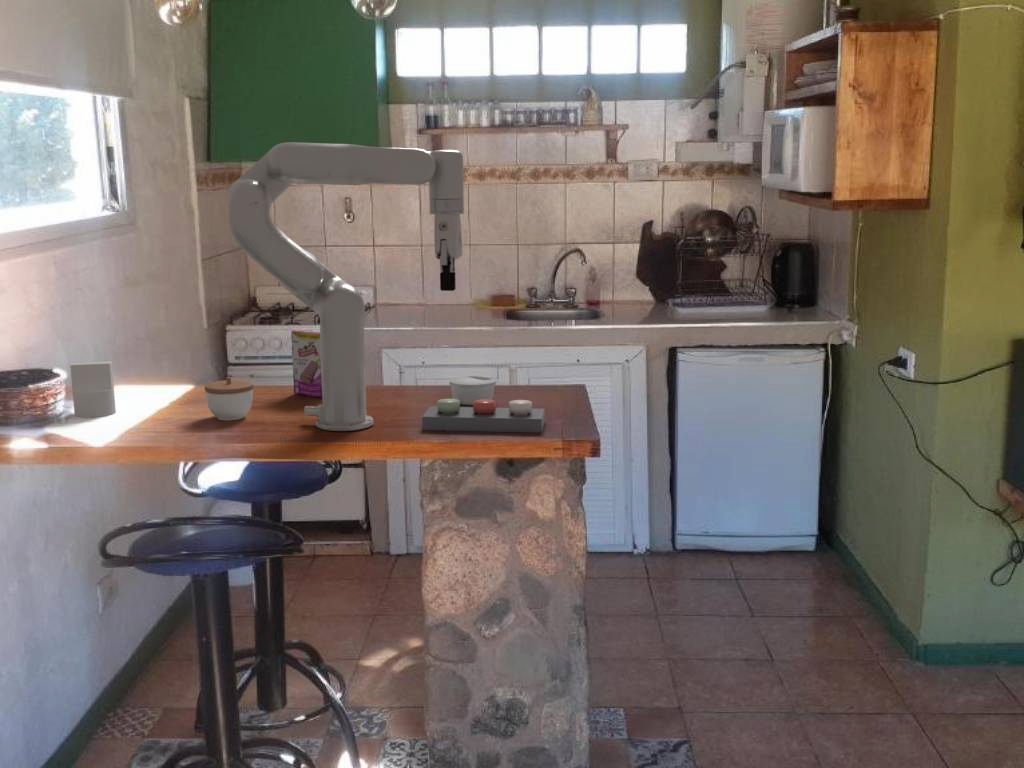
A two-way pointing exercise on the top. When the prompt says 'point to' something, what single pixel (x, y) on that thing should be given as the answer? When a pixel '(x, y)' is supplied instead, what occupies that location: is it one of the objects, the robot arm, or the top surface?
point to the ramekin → (472, 388)
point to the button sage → (448, 406)
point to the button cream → (520, 407)
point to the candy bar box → (306, 362)
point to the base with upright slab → (93, 389)
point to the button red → (484, 406)
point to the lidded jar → (229, 398)
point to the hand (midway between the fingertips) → (447, 290)
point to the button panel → (484, 420)
